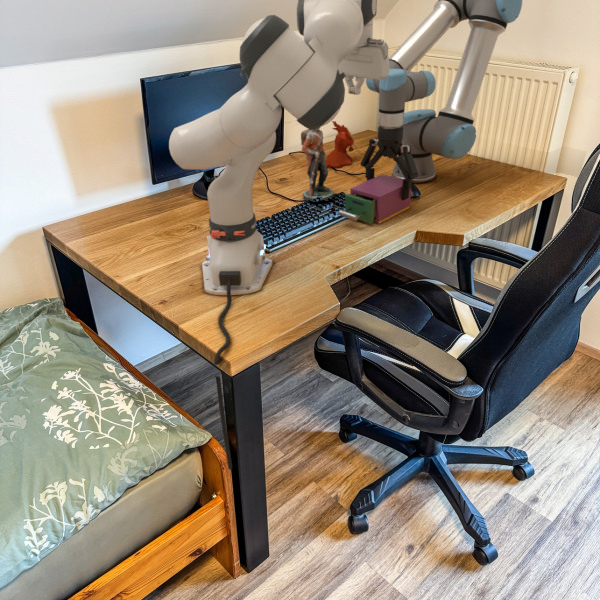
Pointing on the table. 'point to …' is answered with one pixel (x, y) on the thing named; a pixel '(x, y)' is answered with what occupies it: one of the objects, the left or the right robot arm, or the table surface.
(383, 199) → the cabinet
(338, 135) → the toy
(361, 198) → the drawer
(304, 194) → the figurine
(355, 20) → the left robot arm
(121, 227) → the table surface
